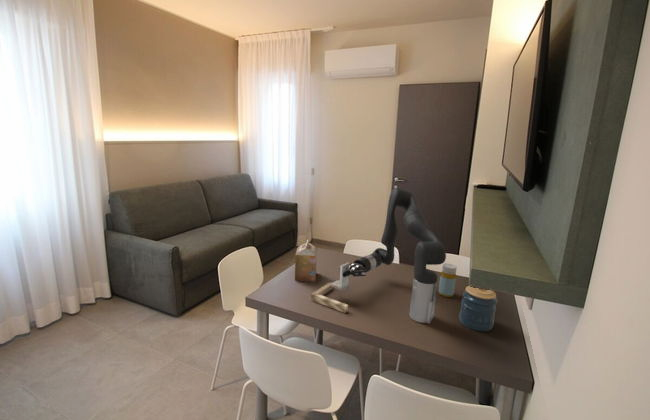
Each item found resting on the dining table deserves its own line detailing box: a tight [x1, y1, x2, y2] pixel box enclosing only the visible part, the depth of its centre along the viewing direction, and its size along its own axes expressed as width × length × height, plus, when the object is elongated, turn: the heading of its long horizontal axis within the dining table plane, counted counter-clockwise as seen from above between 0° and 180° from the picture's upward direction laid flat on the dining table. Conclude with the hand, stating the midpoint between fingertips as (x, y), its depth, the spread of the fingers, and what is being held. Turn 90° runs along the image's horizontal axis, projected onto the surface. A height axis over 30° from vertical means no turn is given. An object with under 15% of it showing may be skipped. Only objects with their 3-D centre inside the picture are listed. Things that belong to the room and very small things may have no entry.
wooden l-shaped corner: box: [310, 281, 349, 314], centre depth 143 cm, size 18×16×3 cm
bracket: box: [331, 262, 351, 292], centre depth 142 cm, size 7×5×12 cm
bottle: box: [438, 262, 457, 298], centre depth 152 cm, size 7×7×15 cm
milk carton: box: [294, 239, 318, 282], centre depth 164 cm, size 11×11×19 cm
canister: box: [458, 285, 499, 332], centre depth 128 cm, size 13×13×18 cm
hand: (342, 274), depth 139 cm, fingers closed on bracket, 1 cm apart
